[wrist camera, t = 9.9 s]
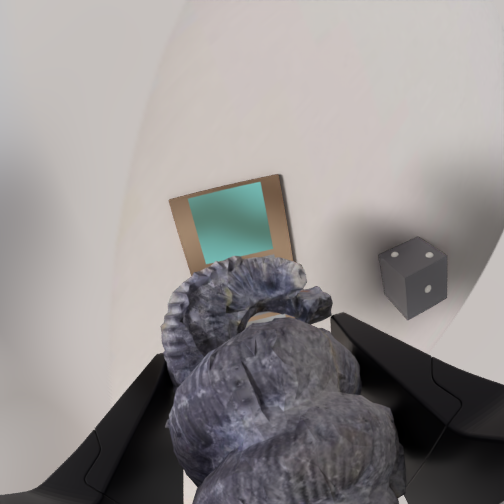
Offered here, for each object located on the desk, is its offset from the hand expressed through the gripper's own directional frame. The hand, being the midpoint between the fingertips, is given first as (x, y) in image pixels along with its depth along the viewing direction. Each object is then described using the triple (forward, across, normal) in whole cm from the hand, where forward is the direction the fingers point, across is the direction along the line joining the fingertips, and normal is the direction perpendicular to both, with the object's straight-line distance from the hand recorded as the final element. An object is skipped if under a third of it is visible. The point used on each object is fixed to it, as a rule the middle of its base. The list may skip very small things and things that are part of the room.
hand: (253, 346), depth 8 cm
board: (+12, 0, +5) cm, 13 cm away
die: (+12, -13, +6) cm, 19 cm away
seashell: (+3, 0, 0) cm, 3 cm away
